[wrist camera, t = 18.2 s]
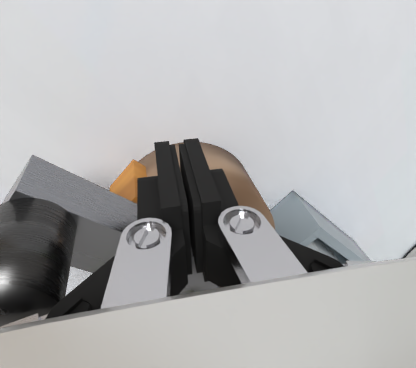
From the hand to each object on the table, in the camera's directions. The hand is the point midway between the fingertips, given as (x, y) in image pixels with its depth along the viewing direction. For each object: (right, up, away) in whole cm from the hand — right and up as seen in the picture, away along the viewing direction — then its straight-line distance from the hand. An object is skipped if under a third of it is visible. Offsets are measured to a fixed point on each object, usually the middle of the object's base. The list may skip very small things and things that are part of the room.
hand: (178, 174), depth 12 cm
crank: (-1, -3, +1) cm, 3 cm away
